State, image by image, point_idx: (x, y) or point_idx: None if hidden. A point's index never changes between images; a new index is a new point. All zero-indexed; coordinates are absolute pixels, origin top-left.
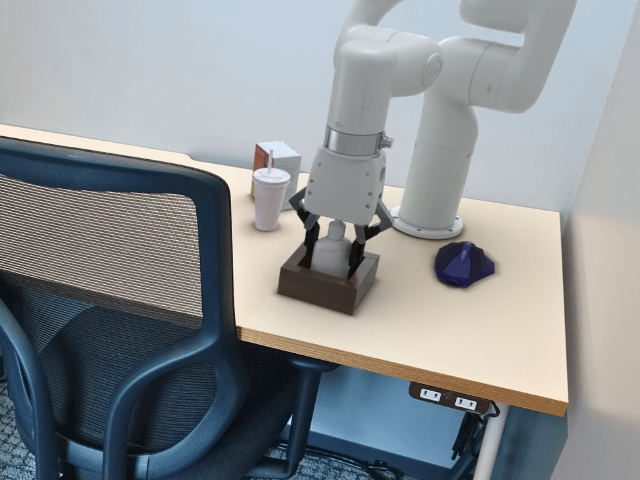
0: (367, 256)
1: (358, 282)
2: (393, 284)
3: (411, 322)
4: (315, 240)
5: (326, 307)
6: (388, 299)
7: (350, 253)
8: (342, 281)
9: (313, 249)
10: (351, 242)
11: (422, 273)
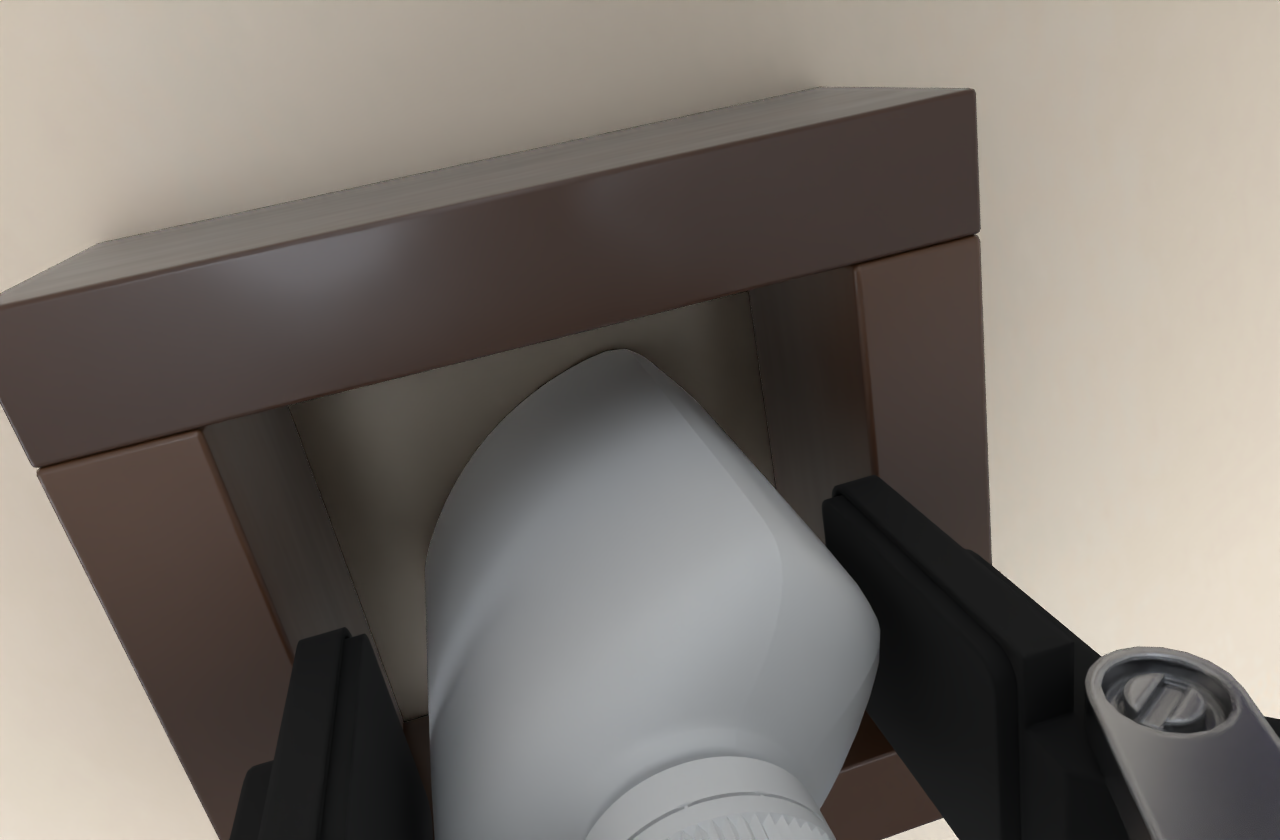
0: (871, 240)
1: None
2: (973, 30)
3: (1193, 435)
4: (395, 829)
5: None
6: (1005, 290)
7: (919, 781)
8: (862, 801)
9: (403, 757)
10: (865, 653)
11: None
